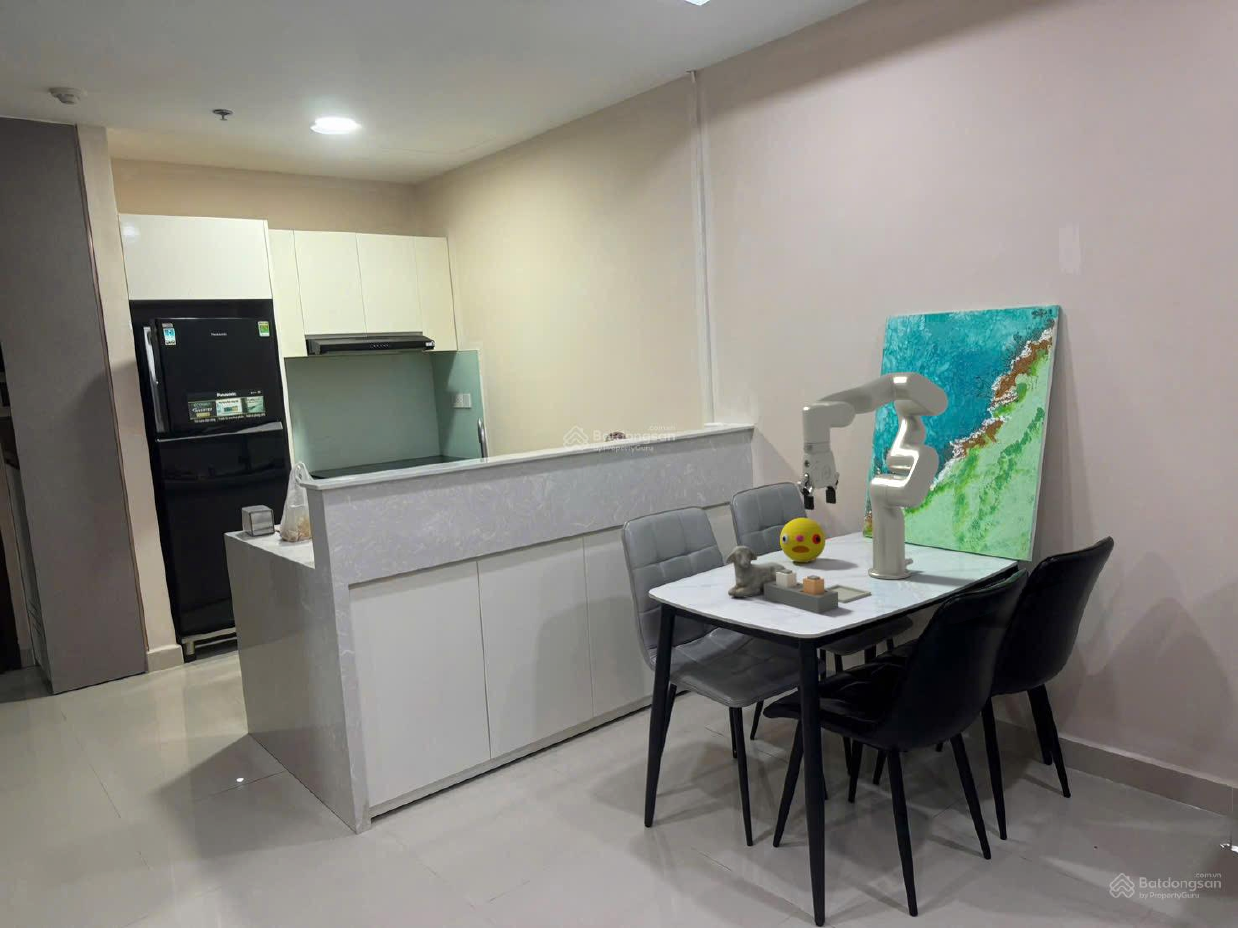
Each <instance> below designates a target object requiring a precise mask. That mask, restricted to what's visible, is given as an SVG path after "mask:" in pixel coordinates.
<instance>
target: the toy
mask: <svg viewBox="0 0 1238 928" xmlns="http://www.w3.org/2000/svg"><path fill="white" fill-rule="evenodd" d="M784 525H785V526H783V528H782V530H781V532H780V536H779V543H780V547H781V549H782V551H783V553H784V554H785V556H786V557H788V558H789V559H790V560H792V561H795V562H796V563H809V562H812V561H814V560H817V558H818V557H820V556H821V554H822V553H823V551H824V550H825V546H826V535H825V533H824V530H823V527H821V525H820V524H818V522H816V521H815V520H813V519H811V518H806V517H798V518H794V519H792V520H790V521H789V522H787V523H786V524H784Z"/></svg>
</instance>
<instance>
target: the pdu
mask: <svg viewBox="0 0 1238 928" xmlns="http://www.w3.org/2000/svg"><path fill="white" fill-rule="evenodd" d="M797 579H798V578H797V571H793V570H792V569H788V568H786V569H784V570H780V572H776V581H773V582H769V583H766V584H764V594H763V599H764V600H765V601H770V602H774V603H776V604H780V605H784V606H787V607H791V608H794V609H798V610H801V611H805V612H810V613H812V614H816V615H820V614H824V613H826V612H827V613H828V612H830V611H832V610H833V611H834V610H836V609H839V602H838V592H836V591H832V590H828V589H824V592H825V593H821V594H818V595H811V594H807V593H803V582H798V581H797Z"/></svg>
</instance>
